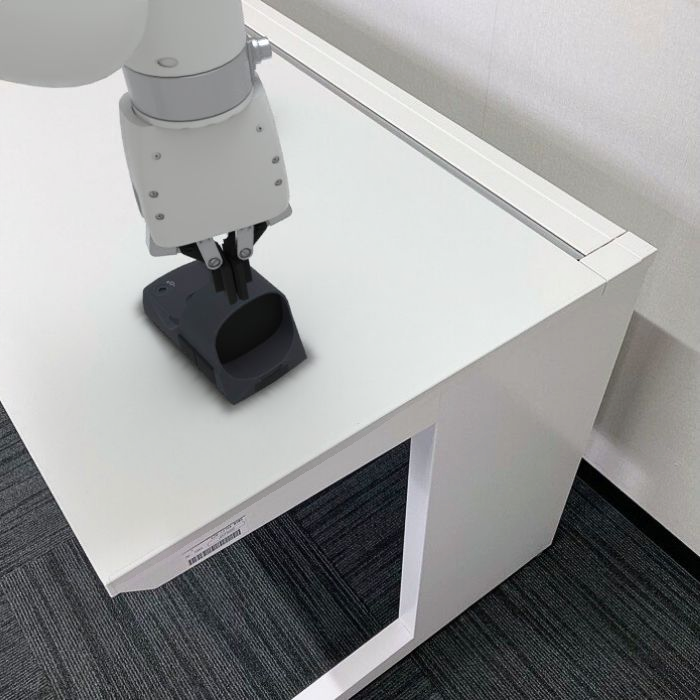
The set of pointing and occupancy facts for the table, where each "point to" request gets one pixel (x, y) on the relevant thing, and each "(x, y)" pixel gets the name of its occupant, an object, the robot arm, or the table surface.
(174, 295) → the sight
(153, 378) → the table surface
